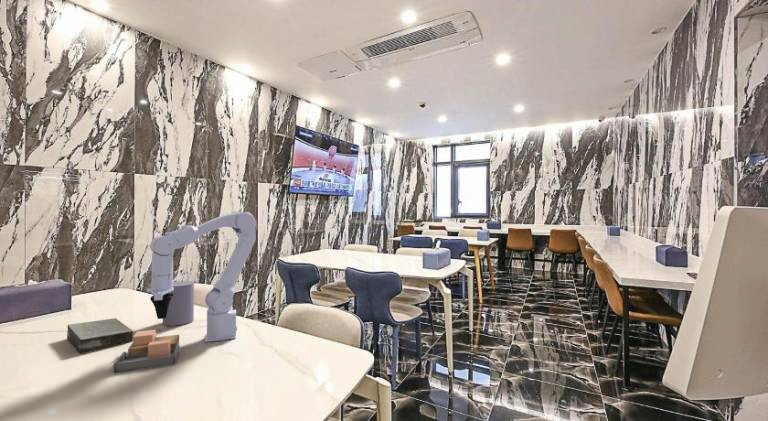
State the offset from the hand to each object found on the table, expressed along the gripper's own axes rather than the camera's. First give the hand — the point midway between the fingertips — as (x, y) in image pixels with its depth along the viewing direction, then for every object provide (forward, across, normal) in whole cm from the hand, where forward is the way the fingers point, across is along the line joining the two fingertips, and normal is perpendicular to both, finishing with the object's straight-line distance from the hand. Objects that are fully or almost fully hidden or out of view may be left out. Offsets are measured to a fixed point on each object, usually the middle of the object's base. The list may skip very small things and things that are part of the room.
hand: (162, 318), depth 109 cm
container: (+10, -29, +1) cm, 30 cm away
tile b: (+7, -1, -5) cm, 8 cm away
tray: (+10, +9, -2) cm, 13 cm away
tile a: (+7, +8, +1) cm, 11 cm away
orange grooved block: (+10, 0, -2) cm, 10 cm away
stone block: (+11, -17, -20) cm, 28 cm away
